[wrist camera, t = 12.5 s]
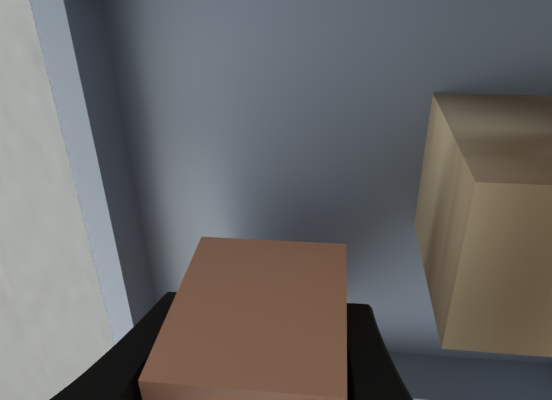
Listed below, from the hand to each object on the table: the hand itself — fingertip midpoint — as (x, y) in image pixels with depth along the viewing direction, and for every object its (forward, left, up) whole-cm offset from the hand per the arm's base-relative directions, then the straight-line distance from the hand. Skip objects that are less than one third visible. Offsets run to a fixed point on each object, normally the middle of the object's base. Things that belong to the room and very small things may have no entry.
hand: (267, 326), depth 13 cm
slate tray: (-3, -2, -4) cm, 5 cm away
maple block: (-6, -3, -3) cm, 8 cm away
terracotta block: (0, 0, -2) cm, 2 cm away
